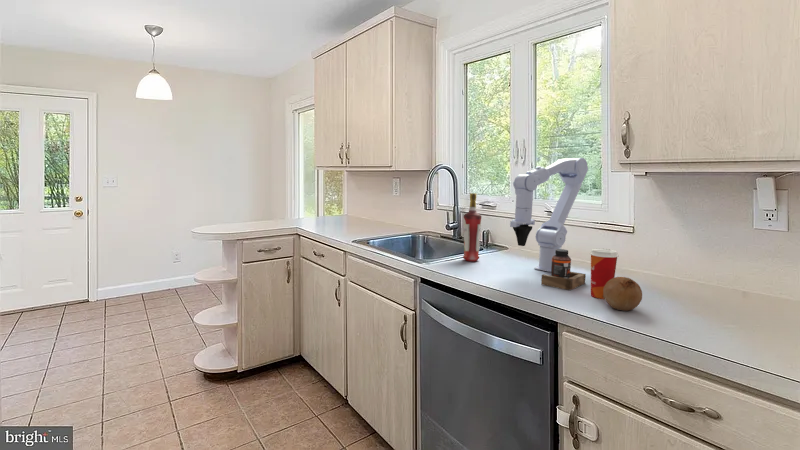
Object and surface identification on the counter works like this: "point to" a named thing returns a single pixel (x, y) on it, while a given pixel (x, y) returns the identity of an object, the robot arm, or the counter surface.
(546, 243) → the robot arm
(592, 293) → the paper cup
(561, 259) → the supplement bottle
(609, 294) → the onion
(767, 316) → the counter surface
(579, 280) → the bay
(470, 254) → the liquor
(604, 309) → the counter surface
